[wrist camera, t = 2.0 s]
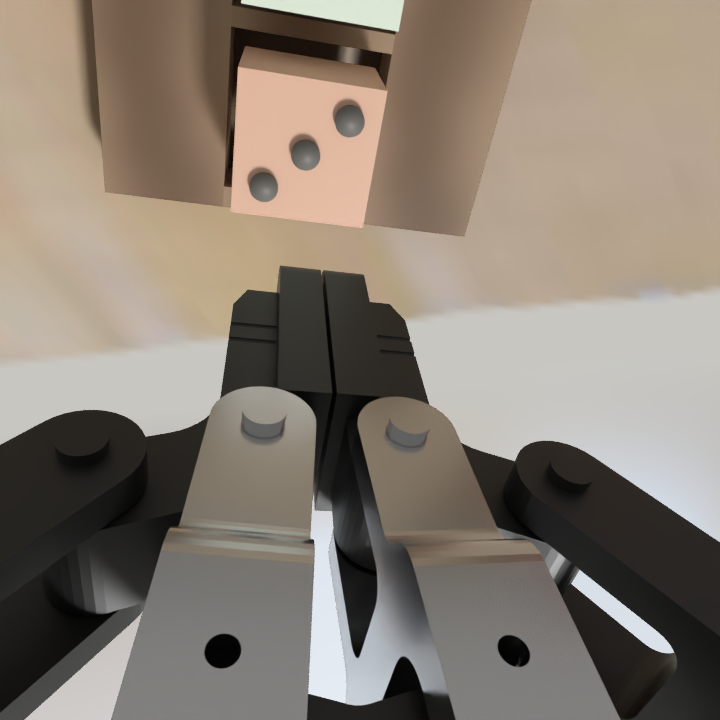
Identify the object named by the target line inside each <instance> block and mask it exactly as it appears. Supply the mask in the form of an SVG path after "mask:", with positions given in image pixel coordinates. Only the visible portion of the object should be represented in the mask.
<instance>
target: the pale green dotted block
mask: <svg viewBox="0 0 720 720" xmlns="http://www.w3.org/2000/svg"><path fill="white" fill-rule="evenodd" d="M241 3H242V4H248V5H253V6H259V7H264V8H270V9H275V10H281V11H286V12H292V13H298V14H303V15H309V16H314V17H320V18H325V19H331V20H336V21H342V22H348V23H353V24H359V25H364V26H370V27H375V28H381V29H387V30H392V31H398V32H399V26H400V21H401V15H402V10H403V4H404V0H241Z"/></svg>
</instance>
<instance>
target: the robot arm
mask: <svg viewBox="0 0 720 720" xmlns="http://www.w3.org/2000/svg"><path fill="white" fill-rule="evenodd" d="M313 494H314V502H315V510H320V511H332V513H333V526H334V528H333V533H332V538H331V542H330V547H329V561H330V568H331V574H332V581H333V588H334V594H335V601H336V607H337V613H338V621H339V627H340V633H341V640H342V646H343V653H344V660H345V667H346V681H347V690H346V704H345V703H341V702H337V701H333V700H330V699H326V698H322V697H318V696H314V695H311V694H308V685H309V663H310V642H311V621H312V598H313V577H314V553H315V552H314V550H315V548H314V540H313V539H310V531H311V514H312V500H313ZM579 570H581V571H582V572H583V573H585V574H586V575H587V576H589V577H590V578H591V579H592V580H594V581H595V582H596V583H597V584H599V585H600V586H601V587H602V588H604V589H605V590H606V591H607V592H609V593H610V594H611V595H612V596H614V597H615V598H616V599H617V600H619V601H620V602H621V603H622V604H624V605H625V606H626V607H627V608H629V609H630V610H631V611H633V612H634V613H635V614H636V615H637V616H639V617H640V618H641V619H643V620H644V621H645V622H646V623H648V624H649V625H650V626H651V627H653V628H654V629H655V630H656V631H658V632H659V633H660V634H661V635H662V636H663V637H664V638H665V639H666V640H667V641H668V642H669V644H670V645H671V647H672V648H673V650H674V652H675V653H671V654H666V653H661V652H658V651H655V650H653V649H651V648H649V647H648V646H647V645H645V644H644V643H642V642H641V641H640V640H639V639H638V638H636V637H635V636H634V635H633V634H632V633H630V632H629V631H628V630H627V629H625V628H624V627H623V626H622V625H620V624H619V623H618V622H617V621H616V620H614V619H613V618H612V617H611V616H609V615H608V614H607V613H606V612H605V611H603V610H602V609H601V608H600V607H599V606H597V605H596V604H595V603H594V602H592V601H591V600H590V599H589V598H588V597H586V596H585V595H584V594H583V593H581V592H580V591H579V590H578V589H577V588H575V587H574V586H573V585H572V584H571V583H572V581H573V580H574V578H575V576H576V575H577V573H578V571H579ZM142 611H143V613H142V616H141V620H140V623H139V627H138V630H137V633H136V637H135V640H134V643H133V647H132V650H131V654H130V657H129V660H128V664H127V667H126V671H125V674H124V677H123V681H122V684H121V688H120V691H119V695H118V698H117V701H116V705H115V708H114V712H113V715H112V719H111V720H720V542H718V541H717V540H715V539H713V538H712V537H711V536H709V535H708V534H706V533H705V532H704V531H702V530H700V529H699V528H697V527H696V526H695V525H693V524H692V523H690V522H689V521H687V520H686V519H684V518H683V517H681V516H680V515H678V514H677V513H675V512H674V511H672V510H671V509H669V508H668V507H667V506H665V505H664V504H662V503H661V502H659V501H658V500H656V499H655V498H653V497H652V496H650V495H649V494H647V493H646V492H644V491H643V490H641V489H640V488H638V487H637V486H635V485H634V484H633V483H631V482H629V481H628V480H627V479H625V478H624V477H622V476H621V475H619V474H618V473H616V472H615V471H613V470H612V469H610V468H609V467H607V466H606V465H604V464H603V463H601V462H600V461H598V460H597V459H596V458H594V457H592V456H591V455H589V454H588V453H586V452H584V451H582V450H580V449H578V448H576V447H573V446H571V445H568V444H563V443H560V442H554V441H539V442H534V443H530V444H529V445H527V446H525V447H524V448H523V449H522V450H520V452H519V454H518V456H517V458H516V460H515V461H512V460H508V459H505V458H501V457H498V456H495V455H491V454H488V453H485V452H482V451H479V450H476V449H473V448H470V447H468V446H466V445H464V444H462V443H461V442H460V440H459V437H458V435H457V433H456V430H455V428H454V427H453V425H452V423H451V422H450V421H449V419H448V418H447V417H446V416H445V415H444V414H442V413H441V412H440V411H438V410H437V409H436V408H434V407H432V406H430V405H429V402H428V399H427V395H426V392H425V388H424V385H423V381H422V378H421V374H420V371H419V368H418V364H417V361H416V357H415V356H414V351H413V347H412V343H411V342H410V336H409V333H408V329H407V326H406V323H405V320H404V319H403V318H402V317H401V316H400V315H399V314H398V313H397V312H396V311H395V310H394V309H393V307H392V306H391V305H390V304H383V303H373V302H370V301H369V297H368V292H367V287H366V283H365V278H364V275H362V274H353V273H344V272H335V271H326V270H323V272H322V276H321V270H315V269H306V268H297V267H288V266H280V269H279V276H278V285H277V293H274V292H264V291H254V290H247V291H246V292H245V293H244V294H243V295H242V296H241V297H240V298H239V299H238V300H237V301H236V302H235V303H234V304H233V312H232V319H231V326H230V333H229V340H228V347H227V355H226V362H225V369H224V376H223V383H222V391H221V397H220V399H219V400H218V401H217V402H216V403H215V405H214V406H213V408H212V410H211V413H210V415H209V416H208V417H207V418H206V419H204V420H202V421H201V422H199V423H198V424H195V425H193V426H191V427H189V428H186V429H183V430H180V431H176V432H171V433H166V434H160V435H154V436H148V437H145V435H144V433H143V431H142V430H141V429H140V428H139V426H138V425H137V424H136V423H134V422H133V421H132V420H130V419H128V418H127V417H125V416H122V415H119V414H117V413H113V412H108V411H101V410H83V411H74V412H70V413H65V414H62V415H59V416H56V417H53V418H51V419H49V420H47V421H45V422H43V423H41V424H39V425H37V426H35V427H33V428H31V429H29V430H28V431H26V432H24V433H22V434H20V435H18V436H16V437H14V438H12V439H11V440H9V441H7V442H5V443H3V444H1V445H0V720H24V719H25V718H26V717H28V716H29V715H30V714H31V713H32V712H33V711H34V710H35V709H36V708H38V707H39V706H40V705H41V704H42V703H43V702H44V701H45V700H46V699H48V698H49V697H50V696H51V695H52V694H53V693H54V692H55V691H56V690H57V689H59V688H60V687H61V686H62V685H63V684H64V683H65V682H66V681H68V680H69V679H70V678H71V677H72V676H73V675H74V674H75V673H76V672H78V671H79V670H80V669H81V668H82V667H83V666H84V665H85V664H86V663H88V661H90V660H91V659H92V658H93V657H94V656H95V655H96V654H97V653H99V652H100V651H101V650H102V649H103V648H104V647H105V646H106V645H107V644H108V643H110V642H111V641H112V640H113V639H114V638H115V637H116V636H117V635H119V634H120V633H121V632H122V631H123V630H124V629H125V628H126V627H127V626H129V625H130V624H131V623H132V622H133V621H134V620H135V619H136V618H137V617H138V616H139V615H140V614H141V612H142Z"/></svg>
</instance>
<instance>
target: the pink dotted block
mask: <svg viewBox="0 0 720 720" xmlns="http://www.w3.org/2000/svg"><path fill="white" fill-rule="evenodd" d="M387 92H388V91H387V89H386V87H385V85H384V83H383V82H382V80H381V78H380V76H379V74H378V72H377V71H376V69H375V68H374V67H368V66H362V65H356V64H350V63H344V62H338V61H332V60H326V59H320V58H314V57H308V56H302V55H296V54H291V53H285V52H279V51H273V50H267V49H261V48H255V47H249V46H245V49H244V51H243V54H242V57H241V60H240V63H239V65H238V77H237V97H236V117H235V136H234V156H233V176H232V195H231V212H236V213H244V214H252V215H261V216H269V217H277V218H285V219H293V220H301V221H309V222H318V223H326V224H334V225H342V226H350V227H358V228H363V224H364V218H365V213H366V207H367V202H368V196H369V191H370V185H371V180H372V174H373V169H374V163H375V158H376V153H377V147H378V142H379V136H380V131H381V125H382V120H383V114H384V109H385V103H386V98H387Z"/></svg>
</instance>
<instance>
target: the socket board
mask: <svg viewBox="0 0 720 720" xmlns="http://www.w3.org/2000/svg"><path fill="white" fill-rule="evenodd" d="M531 1H532V0H404V4H403V10H402V15H401V21H400V26H399V32H398V31H392V30H387V29H381V28H375V27H370V26H364V25H359V24H353V23H348V22H342V21H336V20H331V19H325V18H320V17H314V16H309V15H303V14H298V13H292V12H286V11H281V10H275V9H270V8H264V7H259V6H253V5H248V4H242V3H241V0H92V12H93V27H94V41H95V55H96V69H97V83H98V98H99V112H100V126H101V140H102V155H103V169H104V183H105V192H109V193H117V194H125V195H133V196H141V197H149V198H157V199H165V200H173V201H181V202H189V203H197V204H205V205H213V206H221V207H230V208H231V195H232V176H233V168H231V167H229V153H230V132H231V111H232V89H233V68H234V47H235V27H237V28H242V29H248V30H254V31H260V32H266V33H271V34H277V35H283V36H289V37H294V38H300V39H306V40H312V41H318V42H323V43H329V44H335V45H341V46H346V47H352V48H358V49H364V50H370V51H375V52H381V53H382V59H381V64H380V70H379V76H380V78H381V80H382V82H383V83H384V85H385V87H386V89H387V91H388V92H387V98H386V103H385V109H384V114H383V120H382V125H381V131H380V136H379V142H378V147H377V153H376V158H375V163H374V169H373V174H372V180H371V185H370V191H369V196H368V202H367V207H366V213H365V218H364V224H367V225H375V226H383V227H391V228H399V229H407V230H415V231H423V232H431V233H439V234H447V235H455V236H463V237H464V236H465V232H466V229H467V225H468V222H469V218H470V215H471V211H472V208H473V204H474V201H475V197H476V194H477V190H478V187H479V183H480V180H481V176H482V173H483V169H484V166H485V162H486V159H487V155H488V152H489V148H490V145H491V141H492V138H493V134H494V131H495V127H496V124H497V120H498V117H499V113H500V110H501V106H502V102H503V99H504V95H505V92H506V88H507V85H508V81H509V78H510V74H511V71H512V67H513V64H514V60H515V57H516V53H517V50H518V46H519V43H520V39H521V36H522V32H523V29H524V25H525V22H526V18H527V15H528V11H529V8H530V4H531Z"/></svg>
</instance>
